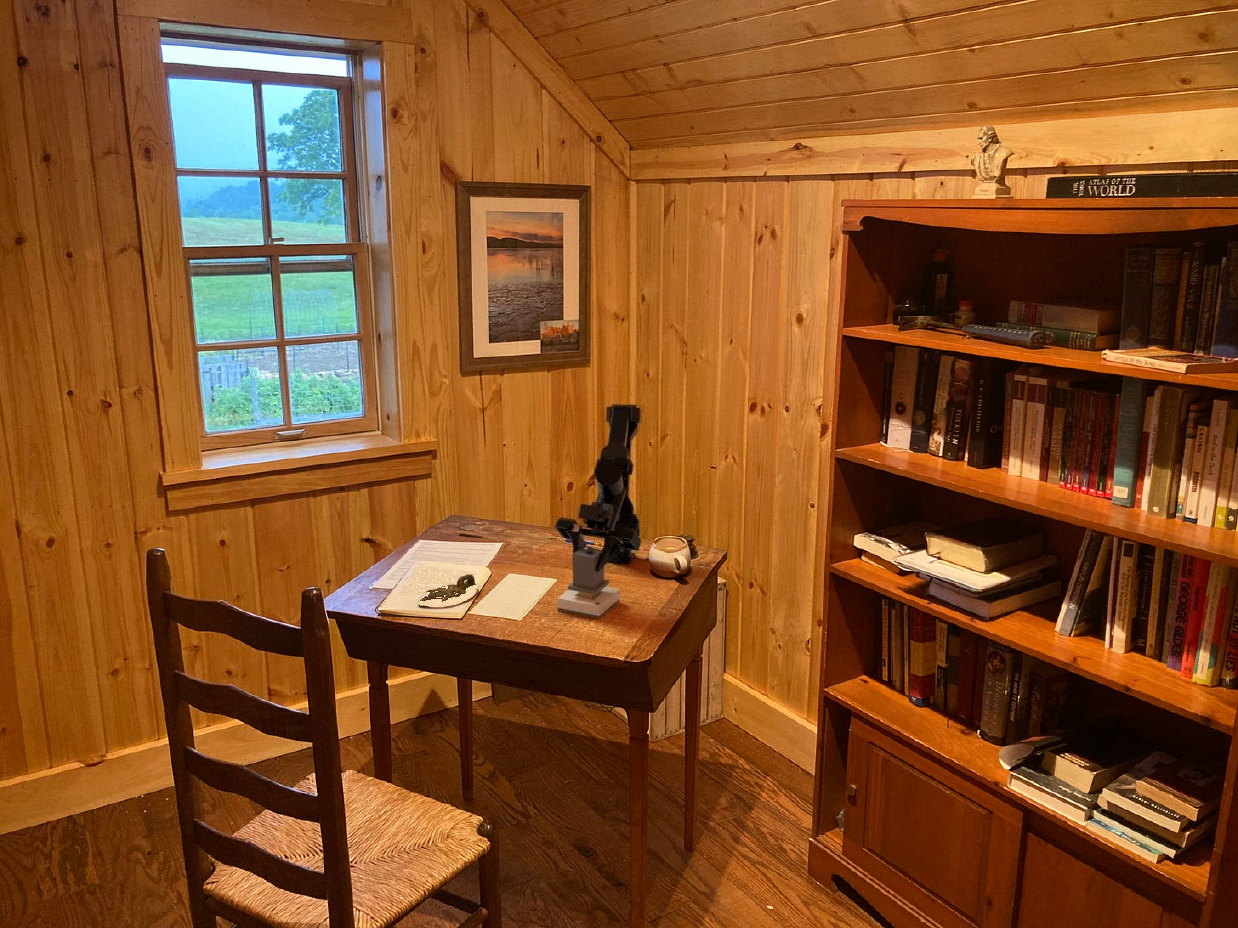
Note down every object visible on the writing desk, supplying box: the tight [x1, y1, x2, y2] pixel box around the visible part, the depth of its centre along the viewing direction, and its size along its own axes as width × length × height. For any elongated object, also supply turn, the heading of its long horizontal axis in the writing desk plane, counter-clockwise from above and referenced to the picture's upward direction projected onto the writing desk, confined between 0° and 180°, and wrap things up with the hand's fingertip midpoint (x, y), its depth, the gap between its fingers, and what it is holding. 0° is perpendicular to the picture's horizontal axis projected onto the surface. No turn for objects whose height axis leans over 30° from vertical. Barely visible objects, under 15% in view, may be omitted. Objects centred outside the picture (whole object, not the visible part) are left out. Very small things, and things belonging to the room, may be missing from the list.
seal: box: [420, 573, 477, 602], centre depth 219 cm, size 9×5×15 cm
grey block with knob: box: [567, 545, 610, 599], centre depth 213 cm, size 7×7×11 cm
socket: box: [556, 586, 620, 620], centre depth 215 cm, size 10×10×3 cm
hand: (585, 569), depth 211 cm, fingers closed on grey block with knob, 5 cm apart
